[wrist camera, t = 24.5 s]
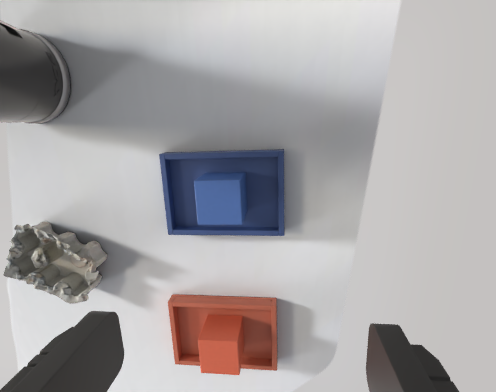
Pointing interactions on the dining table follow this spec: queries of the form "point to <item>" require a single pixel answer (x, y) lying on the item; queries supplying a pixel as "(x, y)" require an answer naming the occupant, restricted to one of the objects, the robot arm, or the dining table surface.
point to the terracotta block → (221, 344)
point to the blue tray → (250, 161)
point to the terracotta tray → (251, 308)
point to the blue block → (221, 198)
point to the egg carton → (55, 262)
